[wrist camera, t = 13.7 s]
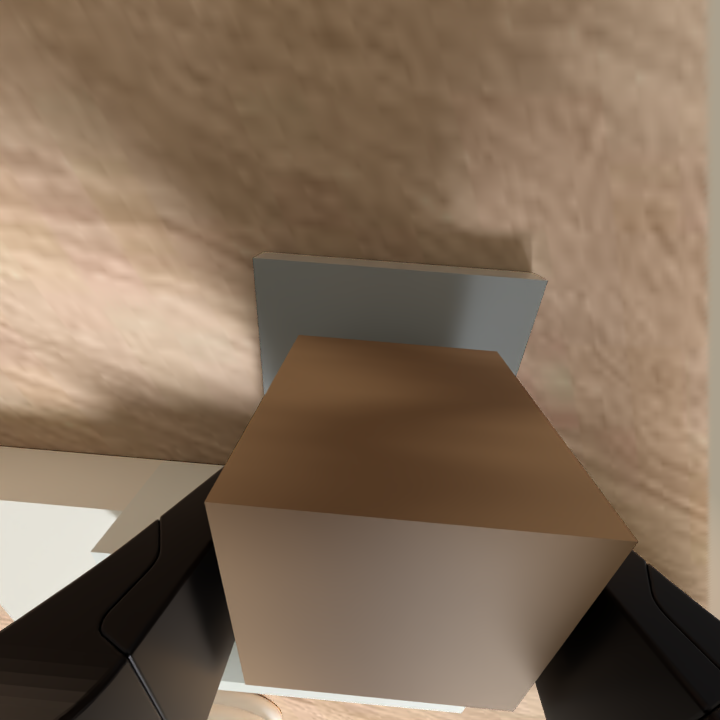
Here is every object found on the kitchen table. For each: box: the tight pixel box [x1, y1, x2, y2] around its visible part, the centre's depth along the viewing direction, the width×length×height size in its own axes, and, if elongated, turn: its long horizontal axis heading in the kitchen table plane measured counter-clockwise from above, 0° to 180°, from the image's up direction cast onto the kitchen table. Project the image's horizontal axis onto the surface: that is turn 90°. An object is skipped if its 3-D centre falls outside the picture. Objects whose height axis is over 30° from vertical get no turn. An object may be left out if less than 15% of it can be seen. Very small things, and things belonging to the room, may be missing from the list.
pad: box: [253, 252, 548, 395], centre depth 11 cm, size 8×8×1 cm
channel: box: [0, 446, 465, 713], centre depth 14 cm, size 22×10×4 cm, turn 86°
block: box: [204, 335, 638, 712], centre depth 7 cm, size 5×5×5 cm
